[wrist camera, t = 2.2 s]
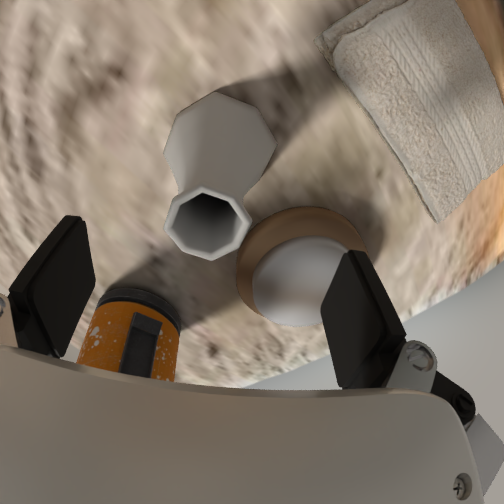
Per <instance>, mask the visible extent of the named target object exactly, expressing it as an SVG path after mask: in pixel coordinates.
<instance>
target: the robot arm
mask: <svg viewBox="0 0 504 504" xmlns="http://www.w3.org/2000/svg"><path fill="white" fill-rule="evenodd" d="M95 282H96V279H95V274H94V269H93V263H92V258H91V252H90V247H89V240H88V234H87V227H86V223H85V221H82V218H81V217H80V216H71V215H66V216H65V217H64V218H63V219H62V220H61V221H60V222H59V224H58V225H57V226H56V227H55V228H54V229H53V231H52V232H51V233H50V234H49V235H48V237H47V238H46V239H45V240H44V242H43V243H42V244H41V245H40V247H39V248H38V249H37V250H36V252H35V253H34V254H33V256H32V257H31V258H30V260H29V261H28V262H27V264H26V265H25V266H24V268H23V269H22V271H21V272H20V273H19V275H18V276H17V278H16V279H15V280H14V282H13V283H12V285H11V286H10V288H9V292H10V293H9V295H8V297H6V296H5V295H3V294H1V293H0V504H484V499H483V496H484V495H485V493H486V492H487V490H488V488H489V486H490V485H491V483H492V481H493V480H494V478H495V476H496V474H497V472H498V471H499V469H500V467H501V465H502V463H503V461H504V444H503V442H502V441H501V439H500V438H499V437H498V436H497V435H496V433H495V432H494V431H493V430H492V429H491V427H490V426H489V425H488V424H487V423H486V421H485V420H484V419H483V418H482V417H481V415H480V414H477V415H475V410H476V409H475V403H474V401H473V398H472V397H471V396H470V394H469V393H468V392H467V391H465V390H464V389H462V388H461V387H460V386H458V385H457V384H455V383H454V382H452V381H451V380H449V379H448V378H447V377H445V376H444V375H442V374H441V373H439V372H438V371H437V370H436V369H437V359H436V356H435V354H434V352H433V351H432V350H431V349H430V348H429V347H428V346H427V345H426V344H424V343H422V342H420V341H415V340H412V341H408V342H406V339H405V336H406V332H405V330H404V328H403V326H402V323H401V321H400V319H399V317H398V315H397V313H396V311H395V309H394V306H393V304H392V302H391V300H390V298H389V296H388V294H387V292H386V290H385V288H384V286H383V284H382V282H381V280H380V278H379V276H378V275H377V273H376V271H375V269H374V267H373V265H372V263H371V261H370V259H369V258H368V256H367V254H366V252H364V251H359V250H352V249H351V250H349V251H348V252H347V253H344V254H343V256H342V258H341V260H340V263H339V265H338V267H337V270H336V272H335V274H334V277H333V279H332V281H331V284H330V286H329V288H328V291H327V293H326V295H325V297H324V299H323V302H322V304H321V308H320V313H321V317H322V321H323V325H324V329H325V333H326V337H327V341H328V345H329V349H330V353H331V357H332V361H333V366H334V370H335V374H336V378H337V383H338V385H339V387H342V389H343V390H260V389H241V388H226V387H214V386H204V385H195V384H186V383H178V382H171V381H164V380H157V379H151V378H145V377H139V376H133V375H127V374H122V373H117V372H112V371H107V370H103V369H98V368H94V367H89V366H85V365H81V364H77V363H73V362H69V361H65V360H61V359H60V357H63V356H64V355H65V353H66V350H67V348H68V345H69V343H70V340H71V338H72V336H73V333H74V331H75V328H76V326H77V324H78V322H79V319H80V317H81V315H82V313H83V310H84V308H85V306H86V304H87V302H88V300H89V298H90V295H91V293H92V291H93V289H94V287H95Z"/></svg>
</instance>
